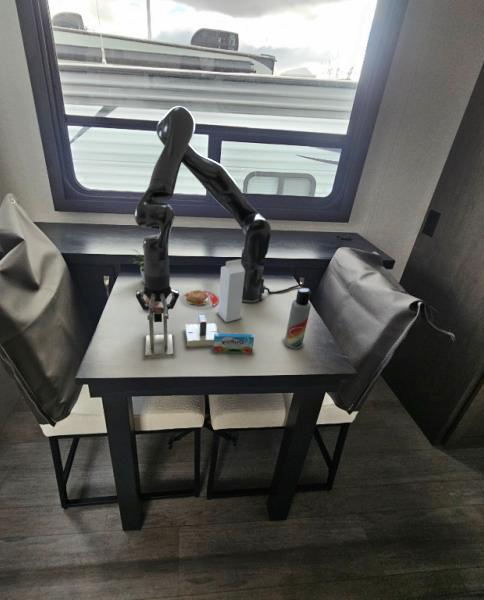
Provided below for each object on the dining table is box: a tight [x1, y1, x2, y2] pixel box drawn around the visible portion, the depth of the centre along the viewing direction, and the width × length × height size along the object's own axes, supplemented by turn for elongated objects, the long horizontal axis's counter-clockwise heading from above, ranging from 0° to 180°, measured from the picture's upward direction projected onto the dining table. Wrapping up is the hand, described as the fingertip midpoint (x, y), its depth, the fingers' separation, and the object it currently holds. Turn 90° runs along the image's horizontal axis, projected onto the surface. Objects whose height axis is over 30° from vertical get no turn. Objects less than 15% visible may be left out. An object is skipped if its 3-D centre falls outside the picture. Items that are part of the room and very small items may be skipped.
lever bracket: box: [144, 307, 174, 357], centre depth 94 cm, size 10×8×13 cm
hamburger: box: [183, 289, 219, 307], centre depth 123 cm, size 14×14×6 cm
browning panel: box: [184, 322, 219, 347], centre depth 101 cm, size 10×9×3 cm
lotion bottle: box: [284, 287, 312, 349], centre depth 98 cm, size 6×6×20 cm
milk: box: [217, 258, 245, 323], centre depth 110 cm, size 6×6×22 cm
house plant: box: [131, 242, 145, 285], centre depth 132 cm, size 14×14×16 cm
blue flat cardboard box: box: [212, 332, 255, 354], centre depth 96 cm, size 12×2×6 cm, turn 93°
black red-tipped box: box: [197, 314, 208, 336], centre depth 99 cm, size 5×2×5 cm, turn 9°
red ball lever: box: [153, 305, 163, 323], centre depth 96 cm, size 13×3×3 cm, turn 10°
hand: (158, 319), depth 103 cm, fingers closed on red ball lever, 3 cm apart
